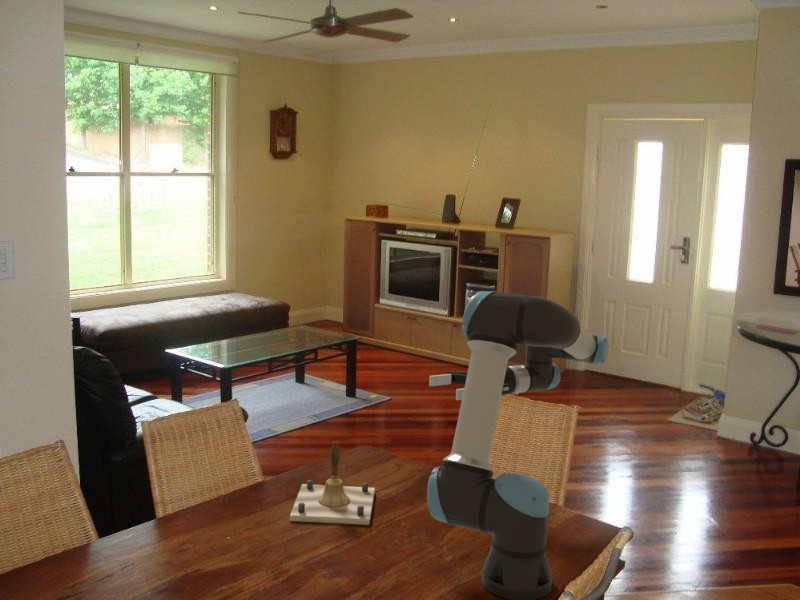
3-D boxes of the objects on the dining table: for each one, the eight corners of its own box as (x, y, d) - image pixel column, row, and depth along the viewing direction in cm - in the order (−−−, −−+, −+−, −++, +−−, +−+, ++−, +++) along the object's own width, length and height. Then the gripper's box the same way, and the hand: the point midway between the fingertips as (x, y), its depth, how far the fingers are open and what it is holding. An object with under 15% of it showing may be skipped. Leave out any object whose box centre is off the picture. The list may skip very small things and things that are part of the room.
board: (369, 524, 203) (369, 511, 202) (289, 520, 204) (290, 507, 203) (374, 492, 223) (374, 480, 222) (302, 489, 223) (302, 477, 223)
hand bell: (315, 495, 216) (316, 438, 213) (345, 493, 218) (347, 436, 216) (321, 508, 208) (323, 449, 205) (353, 505, 210) (355, 446, 208)
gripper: (536, 406, 212) (468, 415, 202) (483, 382, 234) (419, 389, 224) (538, 378, 211) (469, 386, 201) (484, 356, 233) (420, 362, 223)
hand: (442, 387), depth 212 cm, fingers open, 13 cm apart
